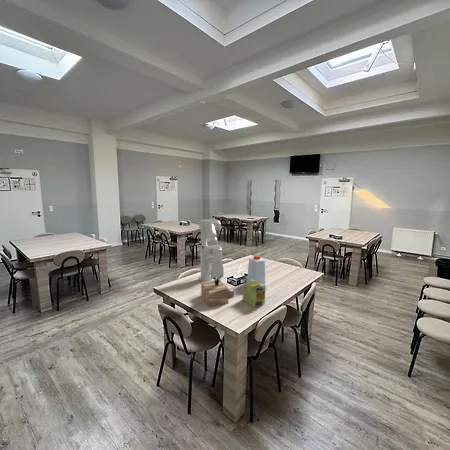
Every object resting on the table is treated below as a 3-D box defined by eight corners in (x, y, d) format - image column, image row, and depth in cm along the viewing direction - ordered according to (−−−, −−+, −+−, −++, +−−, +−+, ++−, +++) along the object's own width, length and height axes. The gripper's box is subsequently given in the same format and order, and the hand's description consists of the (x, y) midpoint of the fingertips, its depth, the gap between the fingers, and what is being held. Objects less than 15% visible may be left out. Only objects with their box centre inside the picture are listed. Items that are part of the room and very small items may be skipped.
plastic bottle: (258, 280, 235) (260, 252, 231) (267, 286, 222) (268, 257, 217) (245, 282, 229) (246, 254, 225) (252, 288, 216) (254, 258, 211)
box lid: (201, 283, 199) (201, 282, 199) (219, 279, 205) (219, 279, 205) (209, 293, 181) (209, 292, 181) (228, 289, 187) (228, 288, 187)
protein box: (255, 307, 183) (256, 288, 180) (242, 299, 195) (243, 281, 192) (265, 303, 189) (266, 285, 186) (251, 296, 201) (252, 278, 198)
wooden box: (201, 295, 200) (201, 283, 199) (219, 292, 207) (219, 280, 205) (209, 306, 182) (209, 293, 181) (228, 303, 189) (228, 290, 187)
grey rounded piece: (225, 294, 203) (225, 289, 202) (232, 293, 206) (232, 288, 205) (228, 298, 197) (228, 292, 196) (235, 296, 200) (235, 291, 199)
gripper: (224, 260, 197) (223, 281, 200) (206, 262, 191) (206, 284, 194) (227, 263, 190) (227, 285, 193) (210, 265, 184) (209, 287, 187)
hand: (216, 284), depth 194 cm, fingers closed
